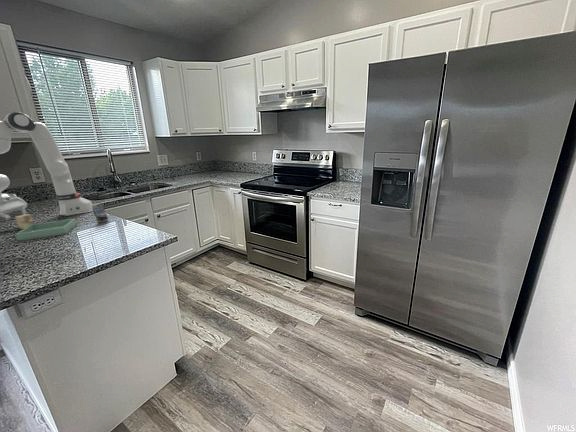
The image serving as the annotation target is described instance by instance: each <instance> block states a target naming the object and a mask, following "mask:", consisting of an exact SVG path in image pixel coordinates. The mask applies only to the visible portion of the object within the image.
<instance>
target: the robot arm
mask: <svg viewBox="0 0 576 432" xmlns="http://www.w3.org/2000/svg"><path fill="white" fill-rule="evenodd" d="M21 132H26V133H27V134H28V135H29V136H30V138H31V140H32V141H33V144H34V145H35V147H36V149H37V151H38V153H39V155H40V157H41V159H42V161H43V163H44V166H45V167H46V170H47V171H48V172H49V174H50V177H51V181H52V185H53V188H54V191H55V194H56V197H55V198H56V200H57V202H58V203H59V204H58V205H59V214H60V216H66V217H67V216H74V215H78V214H85V213H91V212H93V210H92V205H94V204H93V202H92V201H91V200H89V199H86V198H84V197H82V196H81V193H80V192H77V190H76V188H75V184H74V182H73V178H72V175H71V171H70V168H69V165H68V163H67V162H66V160H65V158H64V156H63V155H62V152H61V150H60V148H59V146H58V144H57V142H56V140H55V138H54V136H53V134H52V132H51V131H50V130H49V128H48V126H47V125H46V124H45V123H43V122H38V121H35V120H34V119H32V118H31V117H30V116H29V115H28V114H25V113H23V112H20V111H13V112H10V113H7V114H6V115H5V116H3V117H2V119H1V120H0V155H2V154H5V153H7V152H9V151H10V149H11V147H12V134H13V133H21ZM10 185H11V179H10V178H9V177H8V176H7V175H5V174H3V173H2V174H1V173H0V217H1V218H3V219H6V220H9V219H11V215H9V213H13V212H16V211H21V215H24V214H28V213H27V211H26V210H25V209H26V208H27V207H28V202H26V201H25V200H24V199H23V198H21V197H18V196H17V194H15V193H2V192H4V191H5V190H6V189H8V188H9V187H10Z"/></svg>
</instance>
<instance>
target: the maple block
mask: <svg viewBox="0 0 576 432" xmlns="http://www.w3.org/2000/svg"><path fill="white" fill-rule="evenodd" d="M14 218H15V221H16V223H17V225H18V228H19V230H23V229H25V228H26V227H28V226H30V225H31V224H35V223H34V220H33V217H32V215H31V214H30V213H29V214H28V213H26V214H21V215H17V216H15V217H14Z"/></svg>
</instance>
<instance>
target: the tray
mask: <svg viewBox="0 0 576 432" xmlns="http://www.w3.org/2000/svg"><path fill="white" fill-rule="evenodd" d="M77 225H78V223H77V220H76V218H69V219H62V220H54V221H46V222H38V223H34V224H31V225H30V226H28V227H26V228H25V229H20V231H18V232H17V233H15V234H14V236H15V238H16V240H17V242H21V241H28V240H33V239H42V238H47V237H55V236H62V235H66V234H68V233H69V232H70V231H71V230H73V229H74V228H75V227H76V226H77Z"/></svg>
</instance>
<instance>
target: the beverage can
mask: <svg viewBox="0 0 576 432" xmlns="http://www.w3.org/2000/svg"><path fill="white" fill-rule="evenodd" d="M92 210H93V211H92V212H93V214H94V217H95V219H96V222H98V223H102V222H105V221H108V216H107V215H108V214H107V213H106V210H105V207H104V204H102V202H99V203H95V204H93V205H92Z"/></svg>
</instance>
